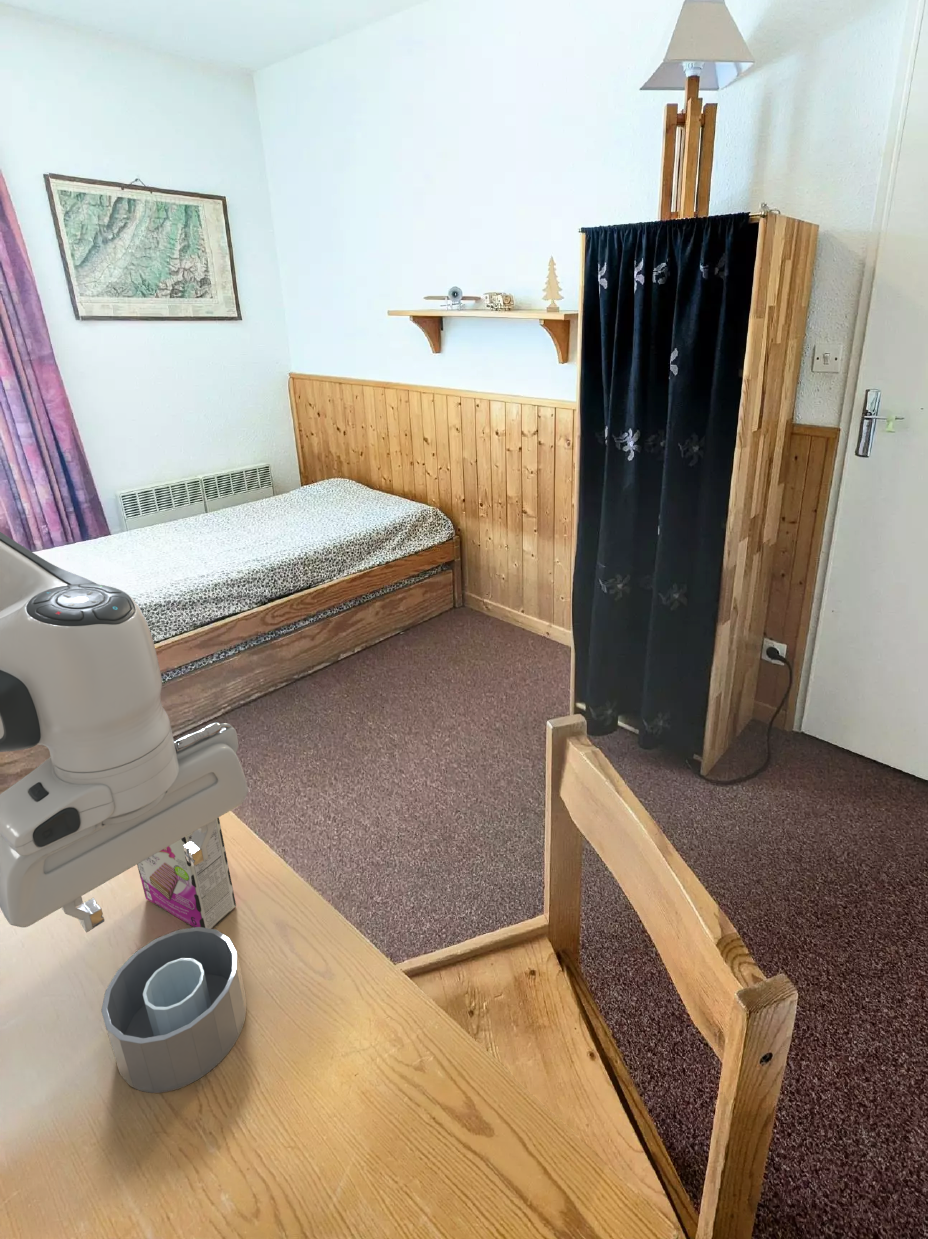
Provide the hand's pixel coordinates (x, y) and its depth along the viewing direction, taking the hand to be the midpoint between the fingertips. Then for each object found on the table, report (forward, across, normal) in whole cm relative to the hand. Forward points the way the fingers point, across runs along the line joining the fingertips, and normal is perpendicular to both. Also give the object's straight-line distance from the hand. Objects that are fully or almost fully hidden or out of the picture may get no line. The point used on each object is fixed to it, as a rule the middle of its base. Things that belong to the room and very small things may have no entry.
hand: (147, 890), depth 63 cm
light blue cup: (+18, 0, 0) cm, 18 cm away
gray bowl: (+19, 0, 0) cm, 19 cm away
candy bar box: (+19, -8, -14) cm, 25 cm away
